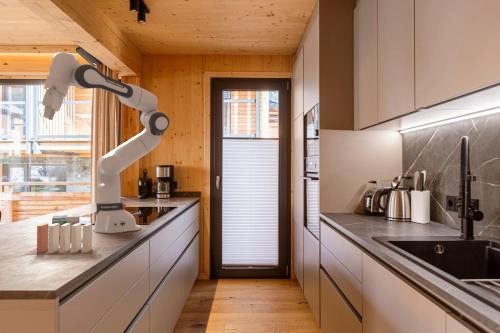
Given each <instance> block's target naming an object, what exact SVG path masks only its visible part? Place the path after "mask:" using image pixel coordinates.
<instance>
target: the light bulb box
mask: <svg viewBox="0 0 500 333" xmlns="http://www.w3.org/2000/svg"><path fill="white" fill-rule="evenodd" d="M55 223H60V225H59V241H60V226H61V225H63V224H66V223H71V224H70V240H71V231H72V225H75V224H77V223H80V214H79V213H78V214H61V215H60V214H59V215H58V214H57V215H52V218H51V225H52V224H55Z"/></svg>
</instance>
